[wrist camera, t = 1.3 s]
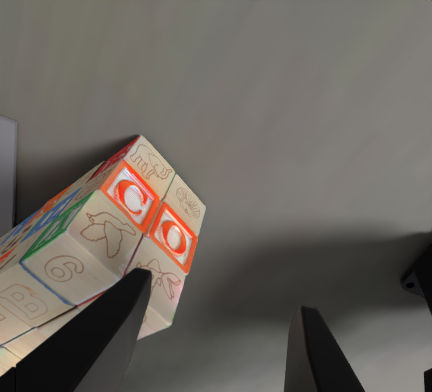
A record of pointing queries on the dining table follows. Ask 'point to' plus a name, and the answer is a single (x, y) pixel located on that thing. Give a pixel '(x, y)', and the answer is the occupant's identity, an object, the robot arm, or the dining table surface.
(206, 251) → the dining table surface
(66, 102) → the dining table surface
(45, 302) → the stack of blocks
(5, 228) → the grey flat board
